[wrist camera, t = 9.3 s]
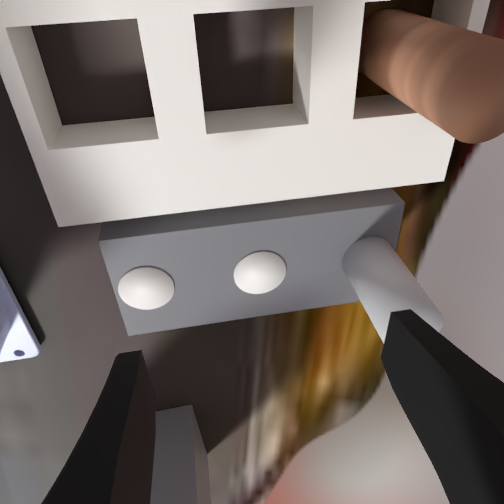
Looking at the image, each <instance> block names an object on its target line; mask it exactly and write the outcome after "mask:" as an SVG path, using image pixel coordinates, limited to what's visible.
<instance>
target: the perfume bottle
mask: <svg viewBox="0 0 504 504" xmlns="http://www.w3.org/2000/svg"><path fill="white" fill-rule="evenodd" d="M155 414H156V436H155V450H154V462H153V474H152V487H151V499H150V504H211V498H210V485H209V473H208V460H207V453H206V450H205V446H204V443H203V440H202V436H201V433H200V430H199V427H198V423H197V420H196V417H195V413H194V410H193V407H192V404H191V405H186V406H181V407H176V408H171V409H166V410H161V411H156V412H155Z"/></svg>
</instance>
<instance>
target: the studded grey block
mask: <svg viewBox="0 0 504 504" xmlns="http://www.w3.org/2000/svg"><path fill="white" fill-rule="evenodd" d="M404 206H405V202H404V201H403V200H402V199H401V198H400V197H399V196H398V194H397V193H396V192H395V191H394V190H393V189H392V188H387V189H379V190H371V191H362V192H354V193H346V194H337V195H329V196H321V197H312V198H304V199H296V200H287V201H279V202H271V203H262V204H254V205H246V206H237V207H229V208H221V209H212V210H204V211H196V212H187V213H179V214H171V215H162V216H154V217H146V218H137V219H129V220H121V221H112V222H104V223H102V227H101V231H100V235H99V240H98V242H99V245H100V248H101V251H102V255H103V258H104V261H105V264H106V267H107V270H108V273H109V277H110V280H111V283H112V286H113V289H114V292H115V295H116V299H117V302H118V305H119V308H120V311H121V314H122V317H123V321H124V324H125V327H126V330H127V333H128V336H131V335H138V334H144V333H151V332H158V331H165V330H171V329H178V328H185V327H191V326H198V325H205V324H212V323H218V322H225V321H232V320H238V319H245V318H252V317H259V316H265V315H272V314H279V313H285V312H292V311H299V310H306V309H312V308H319V307H326V306H332V305H339V304H346V303H353V302H359V301H361V303H362V305H363V306H364V308H365V310H366V312H367V314H368V316H369V317H370V319H371V321H372V323H373V325H374V327H375V328H376V330H377V332H378V334H379V336H380V338H381V339H382V341H383V343H384V341H385V337H386V332H387V327H388V323H389V318H390V314H391V312H394V311H401V310H407V309H411V310H412V311H414V312H415V313H416V314H417V315H419V316H420V317H421V318H422V319H423V320H425V321H426V322H427V323H428V324H429V325H431V326H432V327H433V328H434V329H435V330H436V331H438V332H440V330H441V328H442V326H443V316H442V314H441V312H440V311H439V310H438V308H437V307H436V306H435V304H434V303H433V302H432V301H431V299H430V298H429V296H428V295H427V294H426V293H425V291H424V290H423V288H422V287H421V286H420V284H419V283H418V282H417V280H416V279H415V278H414V276H413V275H412V274H411V272H410V271H409V269H408V268H407V267H406V265H405V264H404V263H403V261H402V260H401V259H400V257H399V256H398V255H397V253H396V252H395V251H396V246H397V241H398V236H399V231H400V226H401V221H402V216H403V211H404Z"/></svg>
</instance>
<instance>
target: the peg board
mask: <svg viewBox="0 0 504 504" xmlns="http://www.w3.org/2000/svg"><path fill="white" fill-rule="evenodd" d="M375 1H389V0H0V74H1V77H2V79H3V82H4V84H5V87H6V90H7V92H8V95H9V98H10V100H11V103H12V106H13V108H14V111H15V114H16V116H17V119H18V121H19V124H20V127H21V129H22V132H23V135H24V137H25V140H26V143H27V145H28V148H29V151H30V153H31V156H32V158H33V161H34V164H35V166H36V169H37V172H38V174H39V177H40V180H41V182H42V185H43V188H44V190H45V193H46V196H47V198H48V201H49V203H50V206H51V209H52V211H53V214H54V217H55V219H56V222H57V225H58V227H65V226H73V225H82V224H90V223H98V222H107V221H115V220H123V219H132V218H140V217H148V216H157V215H165V214H173V213H182V212H190V211H199V210H207V209H215V208H224V207H232V206H240V205H249V204H257V203H265V202H274V201H282V200H290V199H299V198H307V197H315V196H324V195H332V194H340V193H349V192H357V191H365V190H374V189H382V188H390V187H399V186H407V185H415V184H424V183H432V182H440V181H444V179H445V175H446V171H447V167H448V163H449V159H450V156H451V152H452V148H453V144H454V140H455V138H454V137H452V136H451V135H450V134H448V133H447V132H445V131H444V130H442V129H441V128H439V127H438V126H436V125H435V124H433V123H432V122H431V121H429V120H428V119H426V118H425V117H423V116H422V115H420V114H419V113H417V112H416V111H415V110H413V109H412V108H410V107H409V106H407V105H406V104H404V103H403V102H401V101H400V100H399V99H397V98H396V97H394V96H393V95H391V94H388V95H378V96H367V97H357V98H355V94H356V85H357V75H358V65H359V55H360V46H361V36H362V26H363V16H364V7H365V2H375ZM489 3H490V0H434V4H433V9H432V14H431V19H434V20H437V21H441V22H444V23H447V24H451V25H454V26H458V27H461V28H464V29H468V30H471V31H475V32H478V33H481V34H482V30H483V27H484V23H485V19H486V15H487V11H488V7H489ZM289 7H294V47H293V104H283V105H272V106H262V107H251V108H241V109H230V110H220V111H209V112H204V108H203V99H202V90H201V81H200V72H199V62H198V53H197V44H196V35H195V26H194V17H193V14H204V13H218V12H232V11H246V10H261V9H275V8H289ZM132 18H137V21H138V27H139V32H140V38H141V44H142V49H143V55H144V60H145V66H146V71H147V77H148V82H149V88H150V93H151V99H152V104H153V110H154V115H155V117H146V118H136V119H125V120H115V121H104V122H94V123H83V124H73V125H62V123H61V120H60V117H59V114H58V110H57V107H56V104H55V101H54V98H53V95H52V91H51V88H50V85H49V82H48V79H47V76H46V72H45V69H44V66H43V63H42V60H41V57H40V54H39V50H38V47H37V44H36V41H35V38H34V35H33V31H32V28H31V26H33V25H47V24H61V23H75V22H90V21H104V20H118V19H132Z"/></svg>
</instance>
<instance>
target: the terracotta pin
mask: <svg viewBox="0 0 504 504" xmlns="http://www.w3.org/2000/svg"><path fill="white" fill-rule="evenodd" d="M358 71H359V72H360V73H361V74H362V75H364V76H365V77H367V78H368V79H369V80H371V81H372V82H374V83H375V84H377V85H378V86H380V87H381V88H383V89H384V90H385V91H387V92H388V93H390V94H391V95H393V96H394V97H396V98H397V99H399V100H400V101H401V102H403V103H404V104H406V105H407V106H409V107H410V108H412V109H413V110H415V111H416V112H417V113H419V114H420V115H422V116H423V117H425V118H426V119H428V120H429V121H431V122H432V123H433V124H435V125H436V126H438V127H439V128H441V129H442V130H444V131H445V132H447V133H448V134H450V135H451V136H452V137H454V138H455V139H457V140H459V141H461V142H465V143H481V142H485V141H488V140H491V139H493V138H495V137H497V136H499V135H501V134H502V133H504V40H502V39H499V38H495V37H492V36H488V35H485V34H481V33H478V32H475V31H471V30H468V29H464V28H461V27H458V26H454V25H451V24H447V23H444V22H441V21H437V20H434V19H430V18H427V17H423V16H420V15H417V14H413V13H410V12H406V11H403V10H400V9H395V8H386V9H382V10H379V11H377V12H375V13H374V14H372V15H371V16H370V17H368V18H367V19H366V20H365V21H364V23H363V26H362V36H361V46H360V55H359V65H358Z"/></svg>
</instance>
